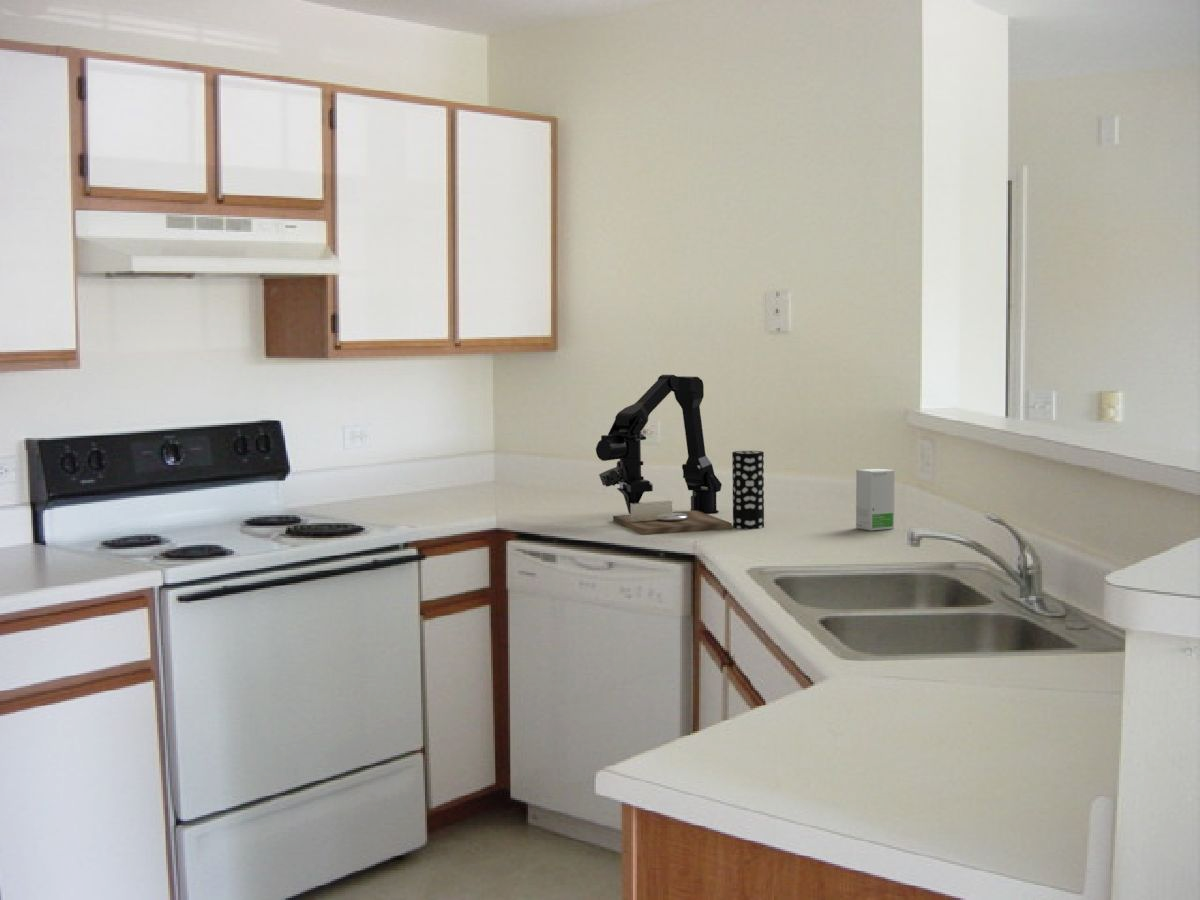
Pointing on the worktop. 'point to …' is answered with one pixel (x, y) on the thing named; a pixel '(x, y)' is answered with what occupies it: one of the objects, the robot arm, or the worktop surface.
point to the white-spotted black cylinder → (748, 489)
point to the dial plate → (675, 523)
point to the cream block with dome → (654, 511)
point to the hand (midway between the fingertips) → (631, 514)
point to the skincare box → (874, 499)
